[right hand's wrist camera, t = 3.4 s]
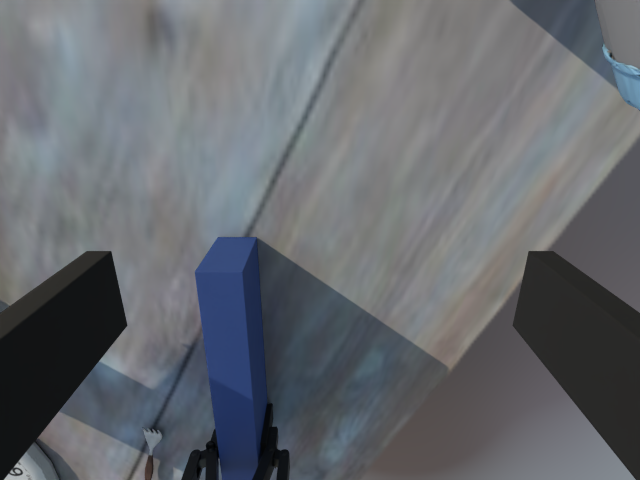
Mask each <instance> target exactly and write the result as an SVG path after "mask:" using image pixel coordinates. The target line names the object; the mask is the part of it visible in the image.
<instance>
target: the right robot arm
mask: <svg viewBox="0 0 640 480" xmlns="http://www.w3.org/2000/svg"><path fill="white" fill-rule="evenodd" d="M595 5H596V9H597V13H598V18H599V22H600V26H601V31H602V35H603V40H604V43H603V46H602V49H603V53H604V56H605V58H606V60H607V61H608V62H609V63H610V64H611V67H612V70H613V73H614V76H615V80H616V83H617V86H618V90H619V93H620V95H621V96H622V98H623V99H624V100H625V102H626V103H627V104H629V105H631V106H633V107H635V108H637V109H638V110H639V111H640V0H595ZM126 327H127V322H126V317H125V312H124V308H123V303H122V299H121V294H120V289H119V285H118V280H117V276H116V271H115V266H114V262H113V257H112V252H111V251H86V252H85V253H84V254H82V255H81V256H79V257H78V258H77V259H75V260H74V261H72V262H71V263H70V264H68V265H67V266H65V267H64V268H63V269H61V270H60V271H58V272H57V273H56V274H54V275H53V276H51V277H50V278H49V279H47V280H46V281H44V282H43V283H42V284H40V285H39V286H37V287H36V288H35V289H33V290H32V291H30V292H29V293H28V294H26V295H25V296H23V297H22V298H21V299H19V300H18V301H16V302H15V303H14V304H12V305H11V306H9V307H8V308H7V309H5V310H4V311H2V312H1V313H0V480H4V479H5V478H6V477H7V475H8V474H9V473H10V472H11V470H12V469H13V468H14V467H15V465H16V464H17V463H18V462H19V460H20V459H21V458H22V457H23V455H24V454H25V453H26V452H27V450H28V449H29V448H30V447H31V445H32V444H33V443H34V442H35V440H36V439H37V438H38V437H39V435H40V434H41V433H42V432H43V430H44V429H45V428H46V427H47V425H48V424H49V423H50V422H51V420H52V419H53V418H54V417H55V415H56V414H57V413H58V412H59V410H60V409H61V408H62V407H63V405H64V404H65V403H66V402H67V400H68V399H69V398H70V397H71V395H72V394H73V393H74V392H75V390H76V389H77V388H78V387H79V385H80V384H81V383H82V382H83V380H84V379H85V378H86V377H87V375H88V374H89V373H90V372H91V370H92V369H93V368H94V367H95V365H96V364H97V363H98V362H99V360H100V359H101V358H102V357H103V355H104V354H105V353H106V352H107V350H108V349H109V348H110V347H111V345H112V344H113V343H114V342H115V340H116V339H117V338H118V337H119V335H120V334H121V333H122V332H123V330H124V329H125V328H126ZM513 327H514V328H515V329H516V330H517V332H518V333H519V334H520V335H521V337H522V338H523V339H524V340H525V342H526V343H527V344H528V345H529V347H530V348H531V349H532V350H533V352H534V353H535V354H536V355H537V357H538V358H539V359H540V360H541V362H542V363H543V364H544V365H545V367H546V368H547V369H548V370H549V372H550V373H551V374H552V375H553V376H554V378H555V379H556V380H557V381H558V383H559V384H560V385H561V387H562V388H563V389H564V390H565V392H566V393H567V394H568V395H569V396H570V398H571V399H572V400H573V402H574V403H575V404H576V405H577V407H578V408H579V409H580V410H581V412H582V413H583V414H584V415H585V416H586V418H587V419H588V420H589V422H590V423H591V424H592V425H593V427H594V428H595V429H596V430H597V432H598V433H599V434H600V435H601V437H602V438H603V439H604V440H605V442H606V443H607V444H608V445H609V447H610V448H611V449H612V450H613V452H614V453H615V454H616V455H617V457H618V458H619V459H620V460H621V462H622V463H623V464H624V465H625V466H626V468H627V469H628V470H629V472H630V473H631V474H632V475H633V476H634V478H635V479H636V480H640V313H639V312H638V311H636V310H635V309H633V308H632V307H631V306H629V305H628V304H626V303H625V302H624V301H622V300H621V299H619V298H618V297H617V296H615V295H614V294H612V293H611V292H609V291H608V290H607V289H605V288H604V287H603V286H601V285H600V284H598V283H597V282H596V281H594V280H593V279H591V278H590V277H589V276H587V275H586V274H584V273H583V272H581V271H580V270H579V269H577V268H576V267H575V266H573V265H572V264H570V263H569V262H568V261H566V260H565V259H563V258H562V257H561V256H559V255H558V254H556V253H555V252H554V251H529V252H528V257H527V262H526V266H525V271H524V276H523V280H522V285H521V289H520V294H519V299H518V304H517V308H516V313H515V317H514V322H513Z"/></svg>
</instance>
